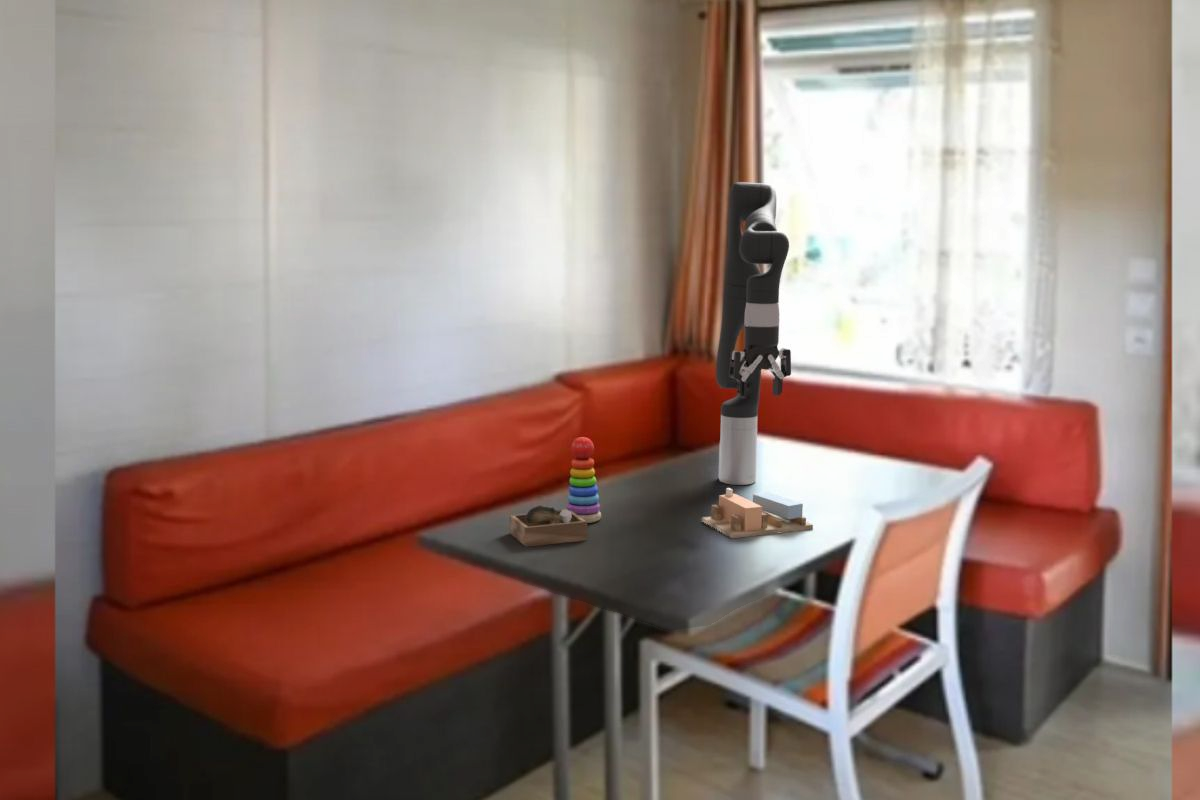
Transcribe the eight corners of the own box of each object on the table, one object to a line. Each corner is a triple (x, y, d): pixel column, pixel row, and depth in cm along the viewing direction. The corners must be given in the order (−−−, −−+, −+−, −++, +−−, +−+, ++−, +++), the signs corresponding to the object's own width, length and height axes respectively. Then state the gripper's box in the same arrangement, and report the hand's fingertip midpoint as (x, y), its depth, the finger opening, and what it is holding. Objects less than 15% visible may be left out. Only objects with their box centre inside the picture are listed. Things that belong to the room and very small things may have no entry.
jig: (701, 521, 266) (702, 504, 266) (779, 513, 274) (780, 496, 273) (731, 538, 254) (732, 520, 253) (812, 529, 261) (813, 511, 261)
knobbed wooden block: (718, 517, 267) (719, 488, 266) (734, 515, 268) (735, 487, 267) (745, 530, 256) (745, 501, 255) (761, 529, 257) (762, 499, 256)
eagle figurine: (538, 522, 259) (517, 524, 251) (556, 496, 258) (535, 497, 250) (563, 545, 256) (542, 547, 248) (581, 519, 255) (560, 520, 247)
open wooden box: (509, 533, 256) (509, 515, 256) (569, 527, 261) (569, 509, 261) (525, 546, 247) (525, 528, 246) (587, 540, 252) (587, 521, 251)
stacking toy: (606, 516, 270) (606, 435, 267) (594, 525, 263) (594, 442, 259) (573, 513, 273) (573, 433, 269) (560, 522, 265) (560, 439, 262)
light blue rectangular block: (752, 507, 269) (753, 494, 269) (766, 504, 271) (766, 491, 271) (788, 519, 259) (788, 506, 259) (802, 516, 261) (802, 503, 261)
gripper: (781, 320, 267) (778, 392, 270) (724, 322, 261) (722, 395, 264) (799, 324, 260) (796, 397, 263) (741, 326, 255) (739, 401, 257)
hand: (759, 396), depth 263 cm, fingers open, 8 cm apart
